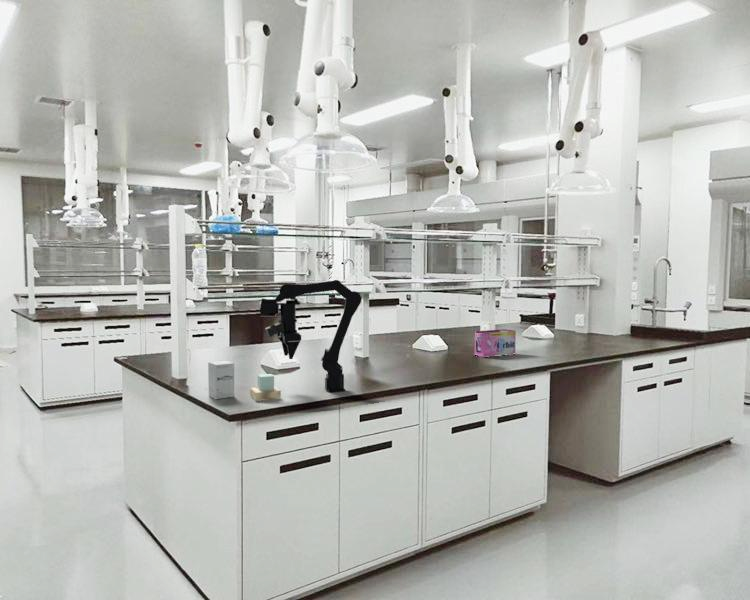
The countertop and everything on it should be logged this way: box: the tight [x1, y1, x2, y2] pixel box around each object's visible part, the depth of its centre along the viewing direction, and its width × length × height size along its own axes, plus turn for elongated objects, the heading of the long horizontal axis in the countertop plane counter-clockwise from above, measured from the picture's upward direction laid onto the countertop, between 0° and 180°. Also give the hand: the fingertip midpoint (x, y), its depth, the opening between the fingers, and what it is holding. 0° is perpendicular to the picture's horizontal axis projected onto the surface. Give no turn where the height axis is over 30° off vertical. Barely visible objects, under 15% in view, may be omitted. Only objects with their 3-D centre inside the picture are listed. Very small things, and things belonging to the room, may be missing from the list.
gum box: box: [474, 328, 517, 357], centre depth 299 cm, size 24×8×14 cm, turn 119°
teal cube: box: [257, 373, 275, 391], centre depth 201 cm, size 5×5×5 cm
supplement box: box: [207, 360, 235, 400], centre depth 202 cm, size 7×7×13 cm
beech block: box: [249, 385, 282, 402], centre depth 201 cm, size 9×9×4 cm
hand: (288, 357), depth 211 cm, fingers open, 9 cm apart
